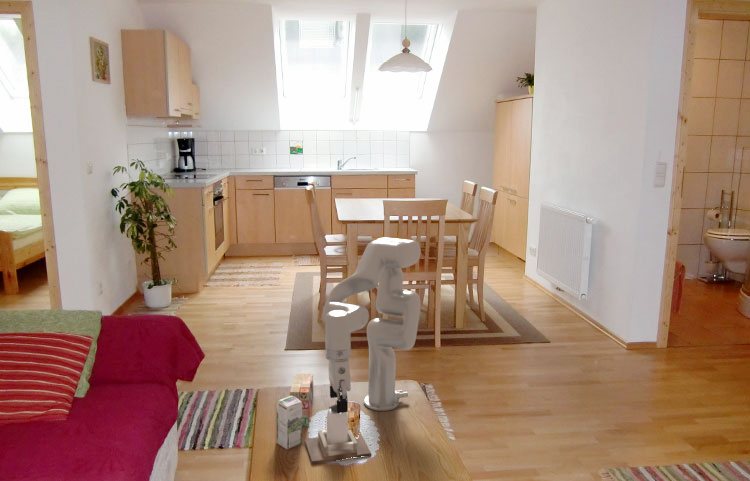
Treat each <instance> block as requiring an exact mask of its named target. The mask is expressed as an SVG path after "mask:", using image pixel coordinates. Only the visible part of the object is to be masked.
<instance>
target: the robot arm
mask: <svg viewBox="0 0 750 481" xmlns="http://www.w3.org/2000/svg"><path fill="white" fill-rule="evenodd" d="M421 250H422V248H421V245H420V244H419V241H416V240H413V239H403V238H396V237H379V238H376V239H375V240H371V241H370V242H369V243H367V245H366V247H365V249H364V251H363V253H362V256H361V257H360V260H359V262H358V264H357V266H356V268H355V271H354V273H353V274H352V275H349V276H348V277H346V278H344V279H343V280H341V281H340V282H339V283H337V284H336V285H335V286H334V287H333V288H332V289H331V291H330V293H329V295H328V297H327V299H326V301H325V302H324V305H323V309H322V320H323V322H324V337H325V338H324V340H325V341H324V342H325V343H324V344H325V359H327V360H328V381H329V384H330V385H329V397H330V398H331V399H333V398H337V399H336V405H337V413H344V412H348V411H349V410H348V409H349V408H348V406H349V405H348V402H349V400H348V392H351V390H352V389H351V388H352V387H351V372H350V371H351V370H350V362H349V361H350V360H349V359H350V358H351V356H352V355H351V354H352V352H351V351H352V347H351V346H352V344H351V340H352V338H351V335H352V334H351V333H353V332H356V331H360V330H361V329H363V328H364V327H366V338H367V343H368V394H367V395H366V396H365V397H364V399H363V404H364V406H365V407H366V408H368V409H370V410H374V411H379V412H385V411H386V412H387V411H390V410H391V411H392V410H395V409H396V408H397V407H399V405H400V399H402V398H408V397H409V394H408V393H409V392H408V391H403V390H402V389H399V390H396V370H397V369H396V366H397V365H396V363H397V358H396V357H397V356H396V354H395V351H394V349H397V350H405V351H409V350H411V349H412V348H414V346H415V344H416V340H417V334H418V328H419V321H420V313H421V305H422V304H421V303H422V302H421V297H420V295H419V294H418V293H417V292H415V291H412V290H407V289H403V286H404V277H405V276H404V272H403V270H402V269H405V268H409V267H411V266H412V267H413V265H416V264H417V262H418V261H419V260H420V258H421V254H422V253H421ZM375 288H377V293H376V297H375V298H376V299H375V310H376V311H377V313H380V314H382V315H385V316H386V315H387V316H392V317H399V318H402V319H403V321H402V320H395V319H391V318H390V319H389V318H384V317H375V318H372V319H371V320H370V321H369V319H370V314H369V313H370V312H369V310H368V309H367V307H365V306H363V305H360V304H355V303H350V302H344V301H345V300H346V299H347V298H349V297H351V296H354V295H356V294H361V293H364V292H368V291H371V290H374V289H375ZM366 325H367V326H366Z"/></svg>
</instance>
